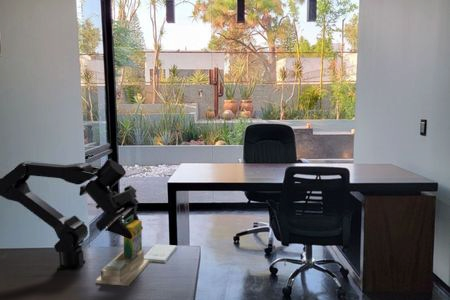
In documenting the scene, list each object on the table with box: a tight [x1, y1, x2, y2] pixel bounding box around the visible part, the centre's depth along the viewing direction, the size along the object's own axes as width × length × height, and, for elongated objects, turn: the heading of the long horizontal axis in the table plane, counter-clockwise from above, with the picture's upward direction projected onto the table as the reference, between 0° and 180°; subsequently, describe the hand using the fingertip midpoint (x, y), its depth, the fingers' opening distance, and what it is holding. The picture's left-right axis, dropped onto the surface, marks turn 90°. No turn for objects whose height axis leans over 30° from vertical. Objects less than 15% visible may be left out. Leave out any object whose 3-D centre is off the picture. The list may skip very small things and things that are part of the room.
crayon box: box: [122, 214, 143, 258], centre depth 126 cm, size 7×3×12 cm, turn 168°
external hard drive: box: [144, 243, 178, 264], centre depth 139 cm, size 2×8×12 cm
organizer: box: [95, 249, 150, 287], centre depth 125 cm, size 10×16×5 cm, turn 169°
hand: (136, 233), depth 126 cm, fingers closed on crayon box, 7 cm apart
